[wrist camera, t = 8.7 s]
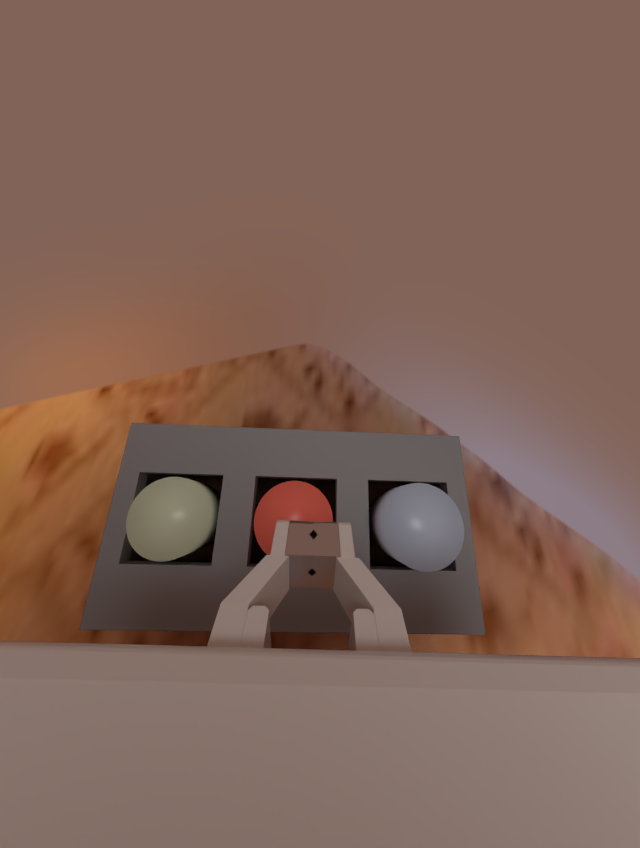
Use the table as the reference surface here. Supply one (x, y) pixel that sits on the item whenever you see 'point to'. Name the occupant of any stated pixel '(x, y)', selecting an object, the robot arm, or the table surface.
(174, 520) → the green button
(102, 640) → the table surface
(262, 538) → the red button
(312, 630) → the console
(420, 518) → the blue button
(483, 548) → the table surface
